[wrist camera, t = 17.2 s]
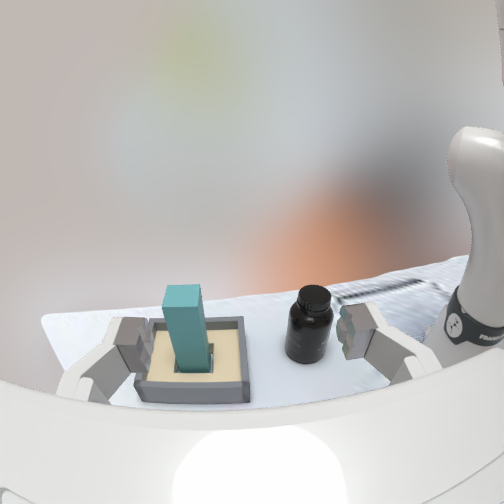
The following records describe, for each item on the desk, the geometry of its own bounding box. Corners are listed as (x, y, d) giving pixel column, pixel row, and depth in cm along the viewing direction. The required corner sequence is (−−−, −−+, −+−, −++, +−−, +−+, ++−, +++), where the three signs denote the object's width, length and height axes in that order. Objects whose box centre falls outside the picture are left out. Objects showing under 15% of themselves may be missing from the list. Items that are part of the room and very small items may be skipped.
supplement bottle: (328, 363, 42) (343, 309, 36) (286, 365, 42) (294, 311, 36) (320, 333, 48) (332, 279, 42) (283, 335, 48) (288, 280, 42)
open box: (243, 334, 49) (243, 316, 46) (250, 402, 36) (249, 386, 34) (155, 336, 47) (149, 318, 45) (142, 401, 35) (133, 385, 33)
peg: (210, 356, 44) (200, 284, 36) (210, 378, 40) (197, 306, 33) (184, 357, 44) (167, 285, 36) (182, 378, 40) (161, 307, 32)
